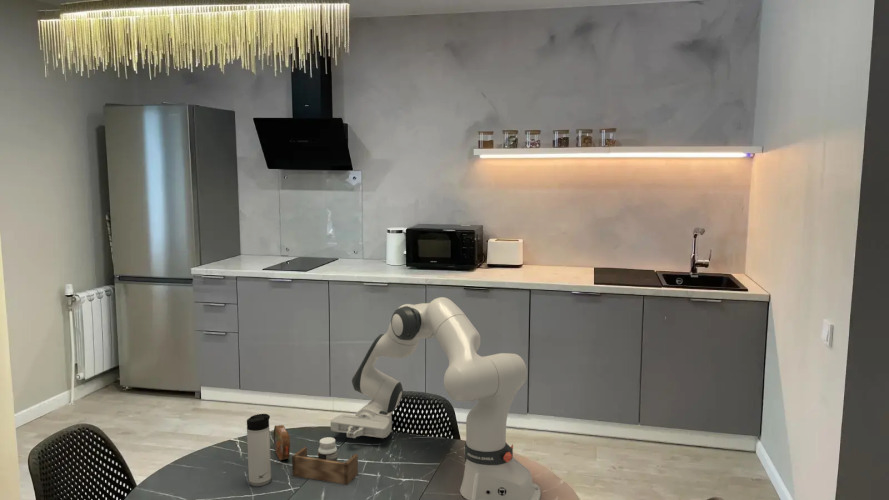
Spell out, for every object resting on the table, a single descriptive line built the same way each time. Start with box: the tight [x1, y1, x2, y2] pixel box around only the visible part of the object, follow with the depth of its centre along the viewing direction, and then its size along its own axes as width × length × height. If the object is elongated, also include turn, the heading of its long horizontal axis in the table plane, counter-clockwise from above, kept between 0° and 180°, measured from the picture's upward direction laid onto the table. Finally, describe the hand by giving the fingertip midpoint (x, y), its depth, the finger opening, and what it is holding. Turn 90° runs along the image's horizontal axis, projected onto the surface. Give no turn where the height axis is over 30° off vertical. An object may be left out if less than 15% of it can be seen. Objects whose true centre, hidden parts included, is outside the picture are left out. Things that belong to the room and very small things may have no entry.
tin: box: [273, 424, 291, 461], centre depth 203 cm, size 15×3×8 cm, turn 25°
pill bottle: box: [317, 436, 338, 462], centre depth 191 cm, size 6×6×10 cm
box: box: [291, 446, 359, 486], centre depth 189 cm, size 18×7×6 cm, turn 72°
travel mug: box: [246, 413, 272, 487], centre depth 184 cm, size 6×7×20 cm
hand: (350, 435), depth 206 cm, fingers closed
